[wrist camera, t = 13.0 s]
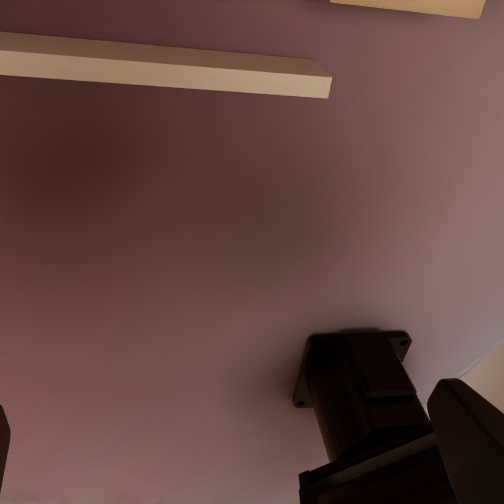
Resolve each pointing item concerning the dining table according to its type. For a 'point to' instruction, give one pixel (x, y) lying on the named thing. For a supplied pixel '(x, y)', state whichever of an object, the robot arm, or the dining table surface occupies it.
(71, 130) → the dining table surface
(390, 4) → the stepped wooden corner piece
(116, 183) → the dining table surface
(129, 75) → the corral
